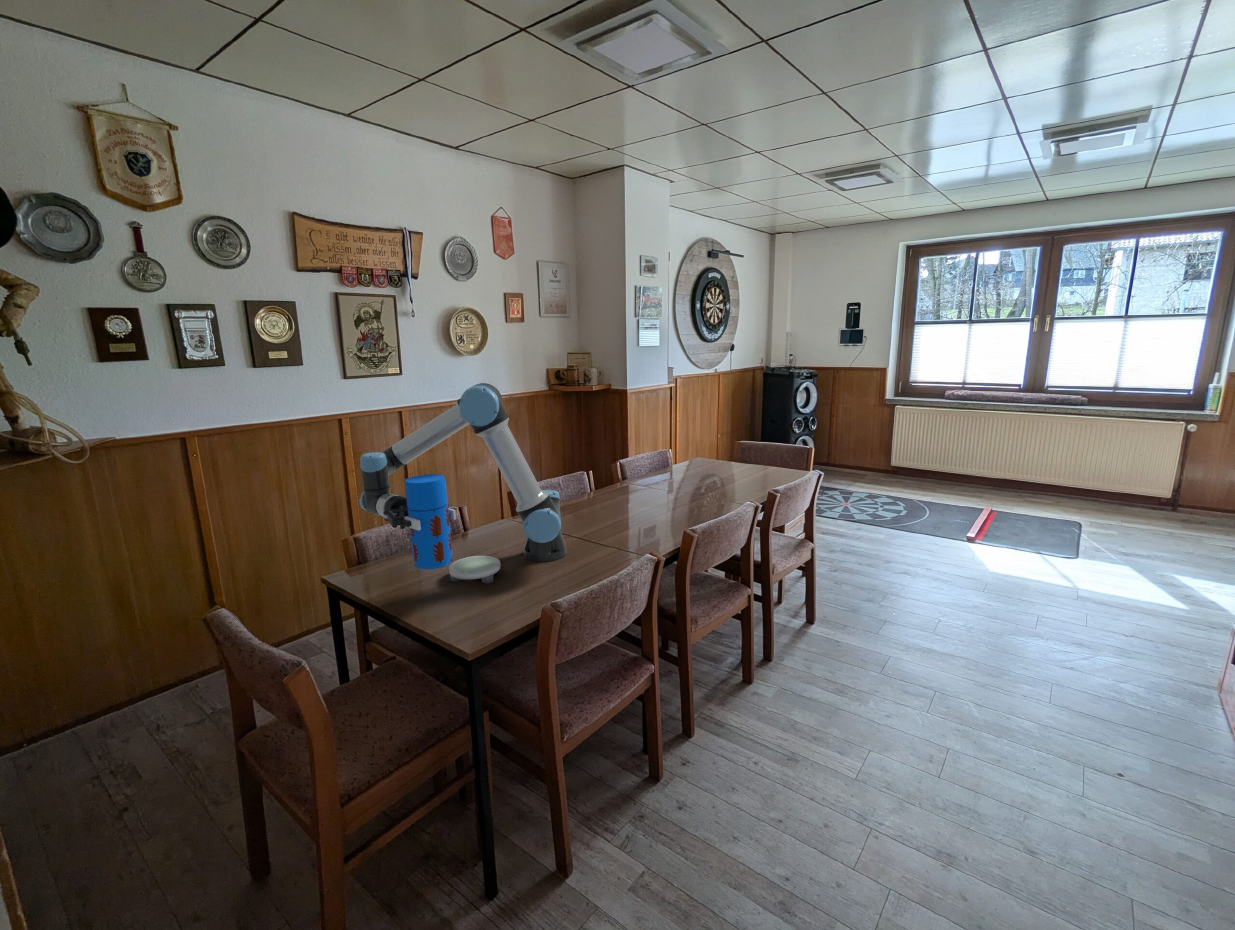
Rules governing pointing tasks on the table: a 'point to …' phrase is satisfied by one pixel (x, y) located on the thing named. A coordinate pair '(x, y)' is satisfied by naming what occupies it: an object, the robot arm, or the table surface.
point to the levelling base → (474, 568)
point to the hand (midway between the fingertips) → (437, 520)
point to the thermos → (429, 520)
